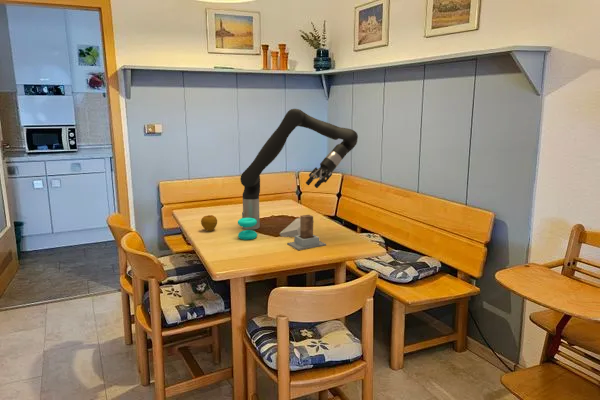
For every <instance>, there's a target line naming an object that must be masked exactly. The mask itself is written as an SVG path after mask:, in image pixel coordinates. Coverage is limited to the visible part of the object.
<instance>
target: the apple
mask: <svg viewBox="0 0 600 400" xmlns="http://www.w3.org/2000/svg"><path fill="white" fill-rule="evenodd" d="M200 224H201V226H202V228H203V229H204V230H205V231H206V232H212V231H214V230H215V228H216V227H217V224H218V219H217V217H216V216H214V215H213V214H208V215H205V216H203V217H202V218H201V220H200Z"/></svg>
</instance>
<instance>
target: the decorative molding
mask: <svg viewBox="0 0 600 400" xmlns="http://www.w3.org/2000/svg"><path fill="white" fill-rule="evenodd" d="M310 215H311V214H310ZM311 216H313V215H311ZM313 223H314V220H313ZM297 235H300V217H298V218H297V217H296V218H295V219H294V220H293V221H292V222H291V223H289V224H288V225H287V226H286V227H284V229H283V230H282V231H281V232H279V236H280V237H282V236H283V237H285V238H288V237H289V238H291V237H292V238H294V236H297Z"/></svg>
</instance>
